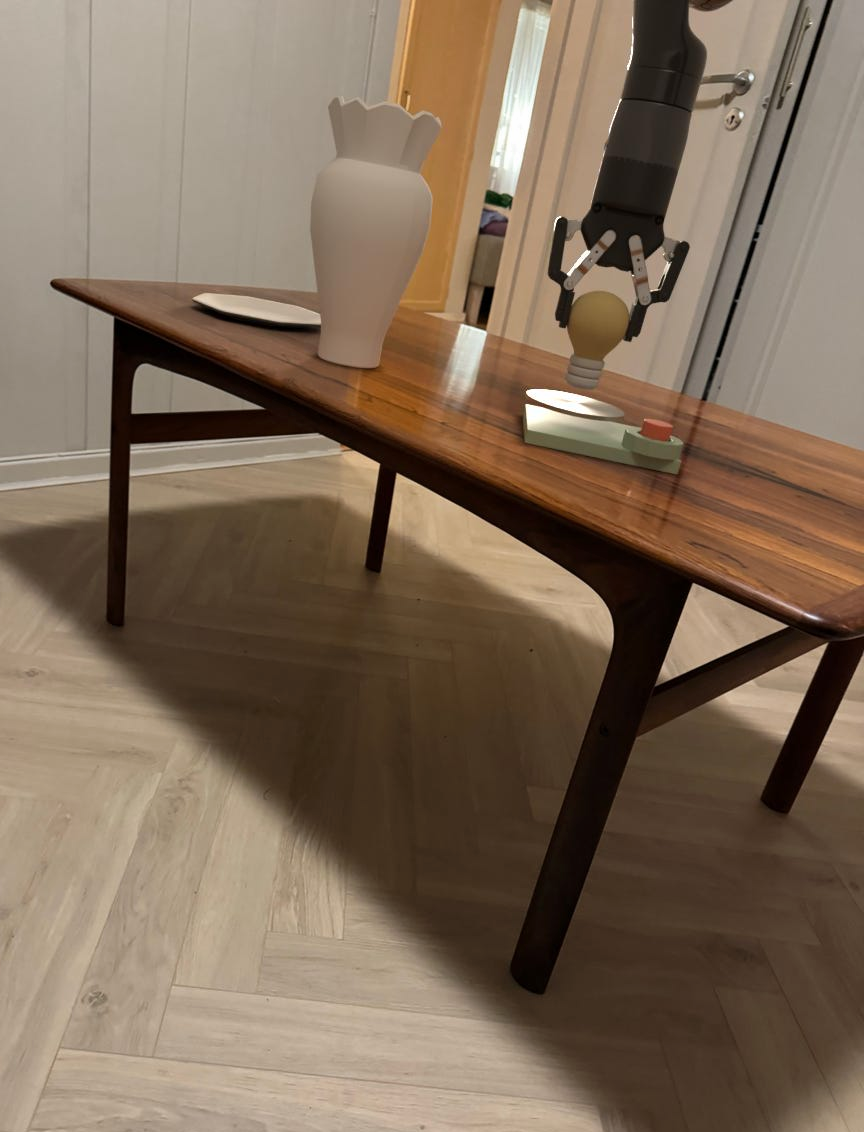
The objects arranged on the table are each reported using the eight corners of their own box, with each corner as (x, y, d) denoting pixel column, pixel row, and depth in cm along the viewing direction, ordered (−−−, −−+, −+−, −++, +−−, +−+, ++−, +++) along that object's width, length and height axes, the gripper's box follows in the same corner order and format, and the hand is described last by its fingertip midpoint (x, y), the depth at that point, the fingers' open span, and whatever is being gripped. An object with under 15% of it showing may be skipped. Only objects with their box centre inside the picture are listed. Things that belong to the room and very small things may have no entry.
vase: (317, 343, 125) (350, 104, 113) (416, 367, 122) (462, 124, 110) (273, 354, 113) (305, 85, 100) (383, 381, 110) (431, 108, 97)
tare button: (665, 439, 95) (670, 422, 94) (670, 445, 92) (675, 429, 91) (637, 433, 95) (642, 416, 94) (641, 439, 92) (646, 422, 91)
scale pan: (618, 407, 105) (619, 403, 104) (629, 427, 95) (630, 423, 95) (524, 388, 105) (525, 384, 105) (526, 406, 95) (527, 401, 95)
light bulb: (540, 378, 100) (563, 282, 95) (584, 382, 103) (609, 289, 98) (575, 393, 95) (602, 293, 90) (621, 396, 98) (648, 300, 94)
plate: (170, 300, 137) (171, 289, 136) (276, 308, 150) (277, 298, 149) (243, 330, 124) (244, 318, 124) (351, 335, 137) (353, 325, 137)
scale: (657, 443, 105) (665, 418, 104) (678, 477, 92) (688, 448, 91) (522, 415, 106) (529, 390, 105) (524, 444, 92) (531, 415, 91)
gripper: (571, 142, 86) (528, 324, 93) (721, 172, 85) (666, 352, 93) (567, 148, 93) (527, 317, 100) (706, 175, 92) (656, 343, 99)
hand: (594, 333), depth 96 cm, fingers closed on light bulb, 6 cm apart
